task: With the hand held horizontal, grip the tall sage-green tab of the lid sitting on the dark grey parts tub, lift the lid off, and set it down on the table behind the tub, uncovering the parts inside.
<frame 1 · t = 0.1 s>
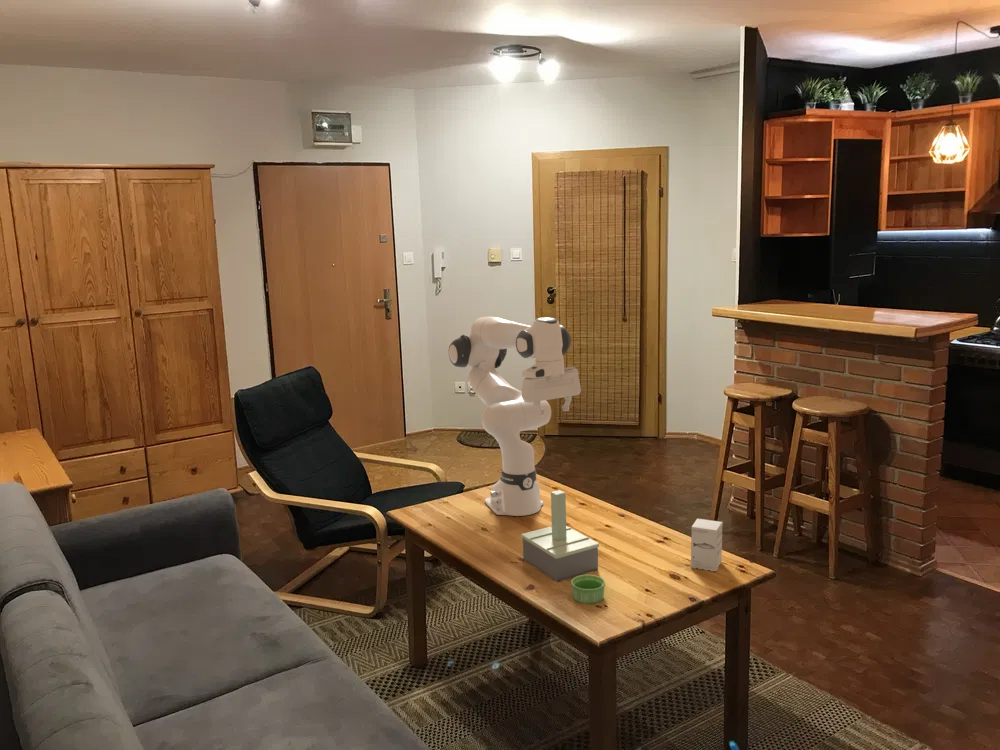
hand: (553, 413, 250), 39 cm above the table, fingers open, 8 cm apart
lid: (559, 541, 229), point 7 cm above the table, touching tub
tub: (560, 564, 231), on the table
ramekin: (588, 597, 210), on the table
supplement box: (706, 566, 226), on the table
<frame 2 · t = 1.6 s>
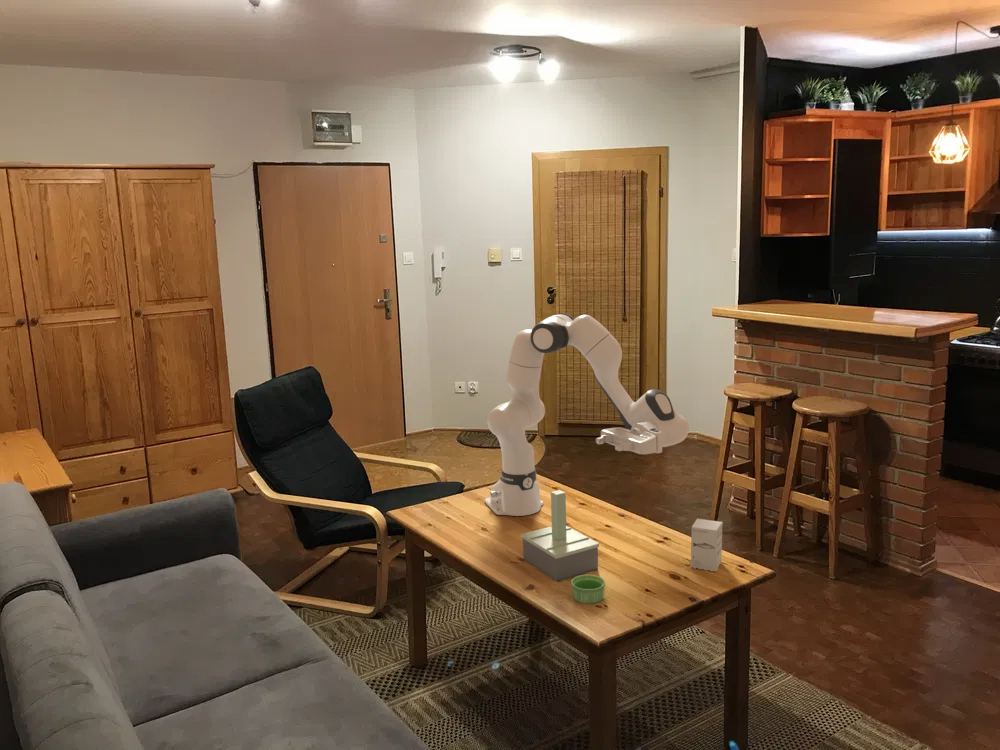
hand: (606, 444, 235), 32 cm above the table, fingers open, 8 cm apart
nothing on the table moved.
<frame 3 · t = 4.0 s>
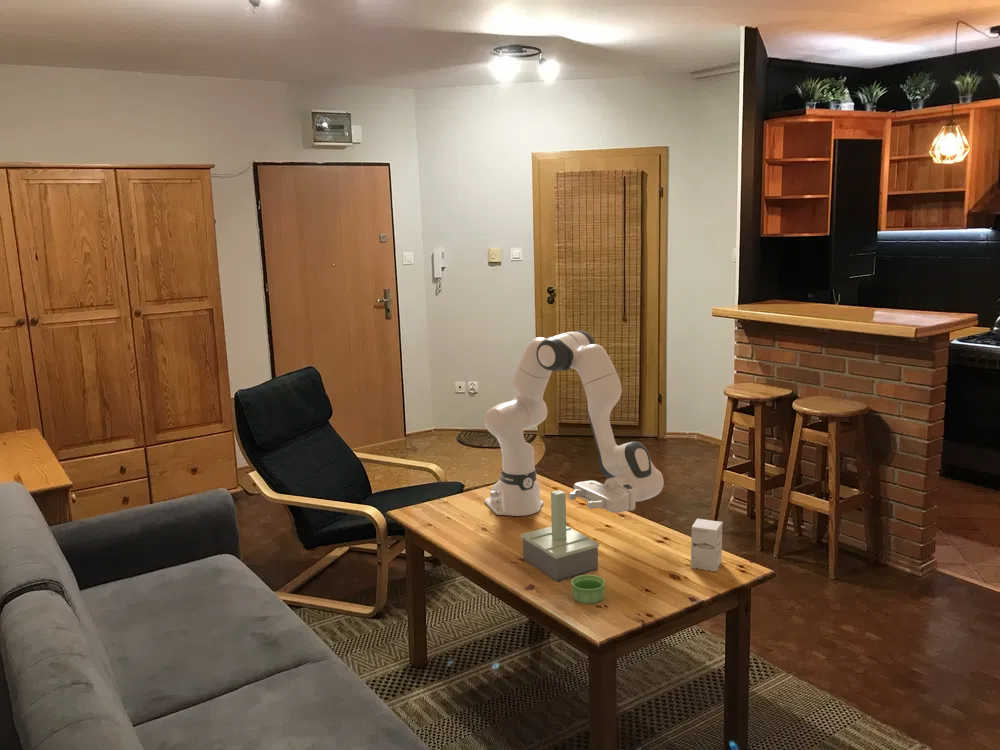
hand: (578, 501, 231), 18 cm above the table, fingers open, 8 cm apart
nothing on the table moved.
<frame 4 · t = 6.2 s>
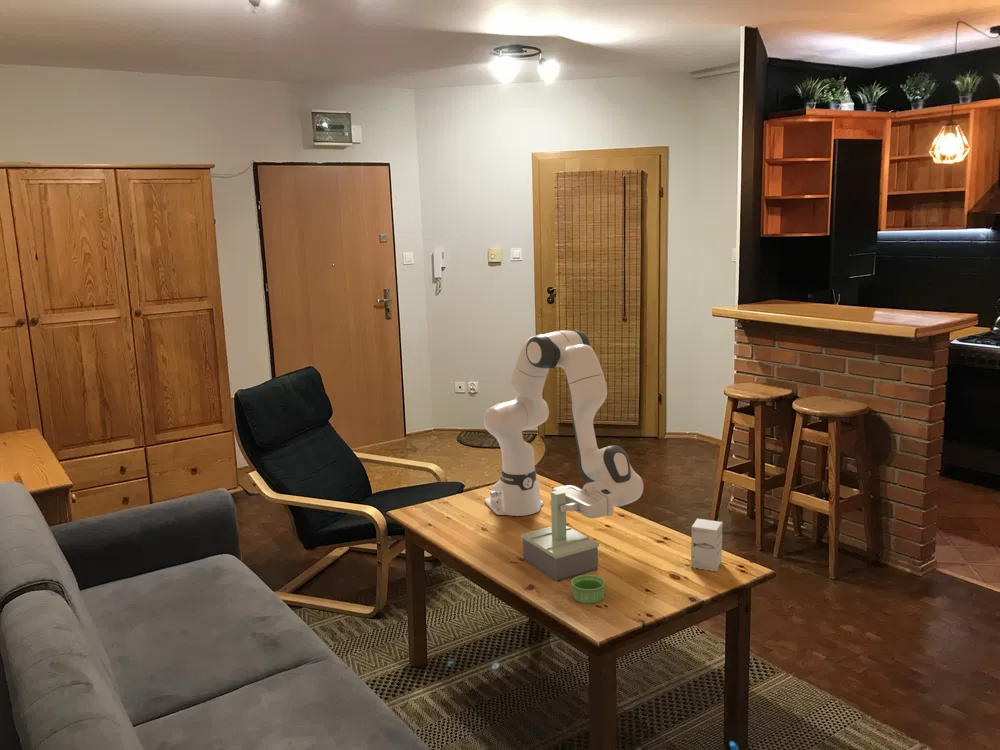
hand: (555, 506, 227), 18 cm above the table, fingers closed on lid, 3 cm apart
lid: (559, 541, 229), point 7 cm above the table, touching gripper, tub
everything else where it was.
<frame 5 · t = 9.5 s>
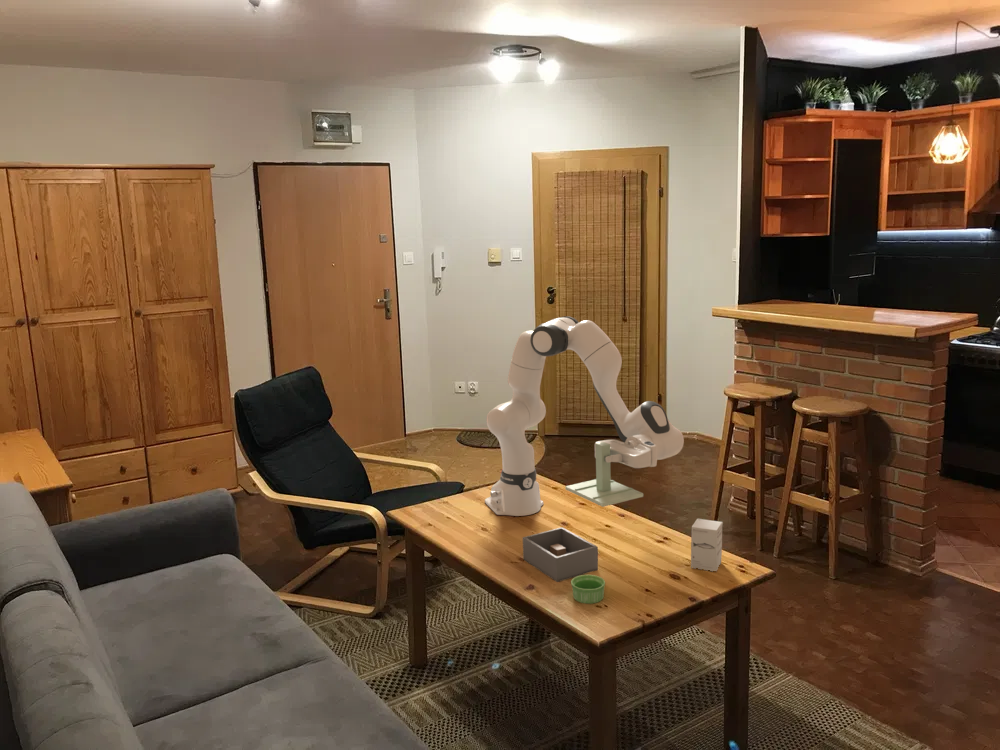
hand: (600, 457, 232), 30 cm above the table, fingers closed on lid, 3 cm apart
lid: (603, 492, 235), point 19 cm above the table, touching gripper
everything else where it was.
when the fingers open (12 cm above the table, at t = 12.7 s): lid drops 2 cm, on the table.
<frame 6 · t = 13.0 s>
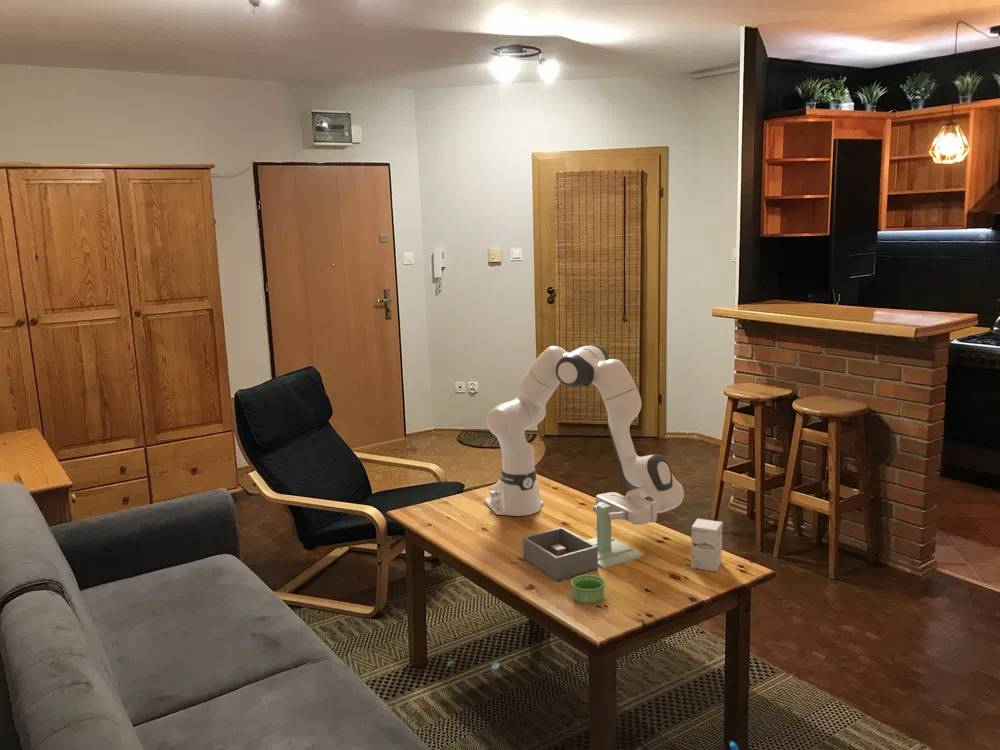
hand: (601, 513, 236), 12 cm above the table, fingers open, 6 cm apart
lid: (604, 553, 238), on the table
everything else where it was.
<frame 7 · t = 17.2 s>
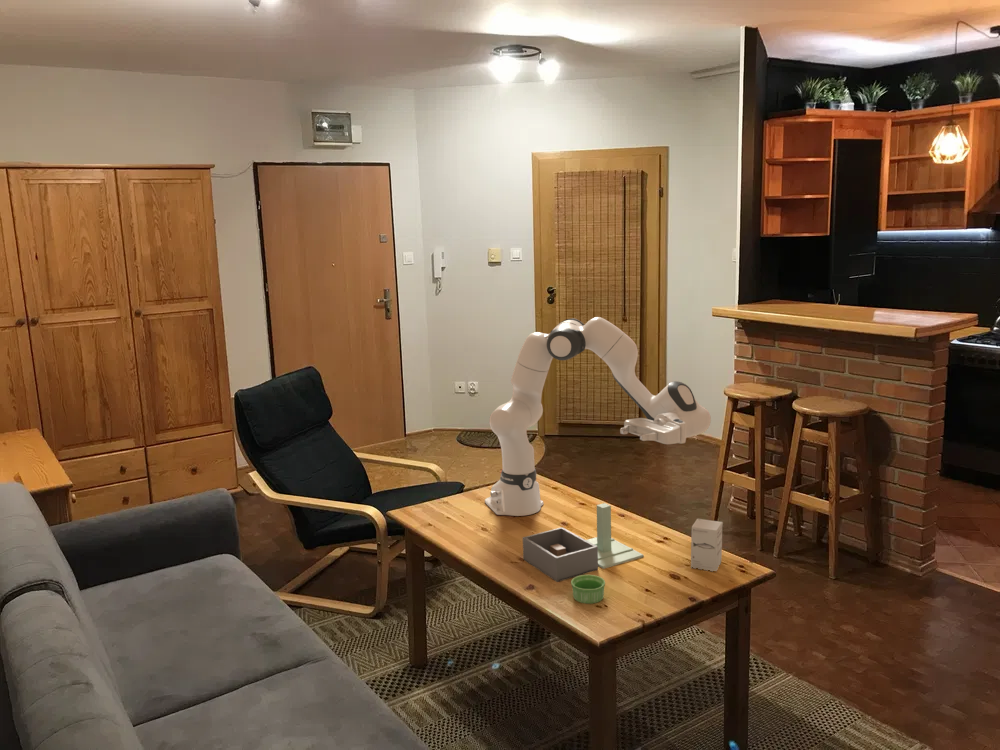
hand: (631, 434, 239), 34 cm above the table, fingers open, 8 cm apart
nothing on the table moved.
at the end: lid inside the target area (1.0 cm from its centre), on the table; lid touching table; the gripper is holding nothing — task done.
